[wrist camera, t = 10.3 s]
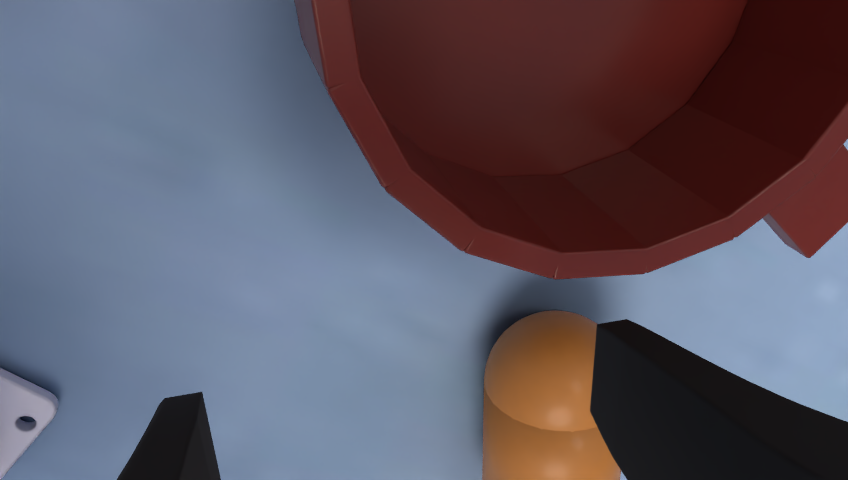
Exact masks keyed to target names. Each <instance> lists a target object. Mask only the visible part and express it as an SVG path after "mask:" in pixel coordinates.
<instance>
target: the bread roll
mask: <svg viewBox="0 0 848 480" xmlns="http://www.w3.org/2000/svg"><path fill="white" fill-rule="evenodd" d="M596 329H597V323H595V322H594V321H592V320H590V319H588V318H586V317H584V316H582V315H579V314H576V313H572V312H568V311H559V310H551V311H542V312H538V313H535V314H532V315H529V316H527V317H524V318H522V319H520V320H518V321H516V322H515V323H514V324H513V325H511V326H510V327H509V328H508V329H507V330H505V331H504V332H503V333H502V335H501V336H500V337H499V339H498V340H497V342H496V343H495V344H494V346H493V347H492V350H491V352H490V355H489V357H488V360H487V363H486V367H485V374H484V410H483V469H482V480H620V474H621V469H620V468H619V466H618V465H617V463H616V462H615V460H614V459H613V457H612V455H611V453H610V451H609V449H608V447H607V445H606V443H605V442H604V440H603V438H602V436H601V434H600V431H599V429H598V427H597V425H596V423H595V421H594V419H593V417H592V414H591V412H590V403H591V391H592V379H593V366H594V354H595V342H596Z"/></svg>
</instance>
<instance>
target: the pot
mask: <svg viewBox="0 0 848 480" xmlns="http://www.w3.org/2000/svg"><path fill="white" fill-rule="evenodd" d="M294 2H295V6H296V10H297V15H298V21H299V26H300V32H301V37H302V40H303V42H304V45H305V47H306V49H307V51H308V53H309V55H310V58H311V60H312V62H313V64H314V66H315V68H316V70H317V72H318V74H319V76H320V78H321V80H322V82H323V84H324V86H325V88H326V90H327V92H328V94H329V96H330V97H331V99H332V101H333V103H334V104H335V106H336V108H337V110H338V111H339V113H340V115H341V117H342V118H343V120H344V122H345V123H346V125H347V127H348V129H349V130H350V132H351V134H352V136H353V137H354V139H355V141H356V143H357V144H358V146H359V148H360V150H361V151H362V153H363V155H364V156H365V158H366V160H367V162H368V163H369V165H370V167H371V169H372V170H373V172H374V174H375V176H376V177H377V179H378V181H379V183H380V184H381V186H382V187H384V188H385V190H386V192H387V193H389V194H390V195H391V196H393V197H394V198H395V199H396V200H398V201H399V202H400V203H401V204H403V205H404V206H405V207H406V208H408V209H409V210H410V211H411V212H413V213H414V214H415V215H416V216H418V217H419V218H420V219H421V220H423V221H424V222H425V223H426V224H428V225H429V226H430V227H431V228H433V229H434V230H435V231H437V232H438V233H439V234H440V235H442V236H443V237H444V238H445V239H447V240H448V241H449V242H450V243H452V244H453V245H454V246H455V247H457V248H458V249H459V250H461V251H464V252H465V253H468V254H471V255H474V256H478V257H481V258H484V259H488V260H491V261H494V262H498V263H501V264H504V265H508V266H511V267H514V268H517V269H521V270H524V271H527V272H531V273H534V274H537V275H541V276H544V277H547V278H553V279H571V278H587V277H603V276H619V275H635V274H645V272H646V273H648V272H651V271H654V270H656V269H659V268H661V267H664V266H666V265H669V264H671V263H674V262H676V261H679V260H682V259H684V258H687V257H689V256H692V255H694V254H697V253H699V252H702V251H705V250H707V249H710V248H712V247H715V246H717V245H720V244H722V243H725V242H728V241H730V240H733V239H734V237H738V236H739V235H741V234H742V233H743V232H745V231H746V230H747V229H748V228H750V227H751V226H752V225H754V224H755V223H756V222H758V221H759V220H760V219H762V218H763V219H764V220H765V222H766V223H767V224H768V225H769V226H770V227H771V228H772V230H773V231H774V232H775V233H776V234H777V235H778V236H779V238H780V239H781V240H782V241H783V242H784V243H785V244H786V245H788V246H789V247H791V248H793V249H794V250H796V251H797V252H799V253H800V254H802V255H803V256H805V257H807V258H810V257H811V256H813V255H814V254H815V253H816V252H817V251H818V250H819V249H820V248H821V247H822V246H823V245H824V244H825V243H826V242H827V241H828V240H829V239H831V238H832V237H833V236H834V235H835V234H836V233H837V232H838V231H839V230H840V229H841V228H842V227H843V226H844V225H845V224H846V223H847V222H848V150H847V149H846V148H845V146H844V145H843V144H844V143H845V141H846V140H847V139H848V0H294Z"/></svg>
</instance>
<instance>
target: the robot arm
mask: <svg viewBox="0 0 848 480" xmlns="http://www.w3.org/2000/svg"><path fill="white" fill-rule="evenodd" d="M57 409H58V400H57V398H56V396H55V395H54V394H52V393H51V392H49V391H47V390H45V389H43V388H41V387H39V386H37V385H35V384H33V383H31V382H29V381H27V380H25V379H22V378H20V377H18V376H16V375H14V374H12V373H10V372H8V371H6V370H4V369H2V368H0V480H1V479H2V477H3V476H4V475H5V474H6V473H7V472H8V470H9V469H10V468H11V467H12V466H13V465H14V463H15V462H16V461H17V460H18V459H19V458H20V456H21V455H22V454H23V453H24V452H25V451H26V449H27V448H28V447H29V446H30V445H31V444H32V443H33V441H34V440H35V439H36V438H37V437H38V436H39V434H40V433H41V432H42V431H43V430H44V429H45V427H46V426H47V425H48V424H49V423H50V422H51V420H52V419H53V418H54V416H55V414H56V412H57ZM590 412H591V414H592V417H593V419H594V421H595V423H596V425H597V427H598V429H599V431H600V434H601V436H602V438H603V440H604V442H605V443H606V445H607V447H608V449H609V451H610V453H611V455H612V457H613V459H614V460H615V462H616V463H617V465H618V466H619V468H620V469H621V471H622V472H623V474H624V475H625V477H626V478H627V480H848V422H846V421H843V420H840V419H838V418H835V417H832V416H830V415H827V414H824V413H822V412H819V411H817V410H814V409H811V408H809V407H806V406H803V405H801V404H798V403H796V402H794V401H791V400H789V399H786V398H784V397H782V396H780V395H777V394H775V393H773V392H771V391H769V390H767V389H764V388H762V387H760V386H758V385H756V384H753V383H751V382H749V381H747V380H745V379H743V378H741V377H739V376H737V375H735V374H733V373H731V372H729V371H727V370H725V369H723V368H721V367H719V366H717V365H715V364H713V363H711V362H709V361H707V360H705V359H703V358H701V357H699V356H698V355H696V354H694V353H692V352H690V351H688V350H686V349H684V348H682V347H681V346H679V345H677V344H675V343H673V342H671V341H669V340H667V339H666V338H664V337H662V336H660V335H658V334H656V333H654V332H652V331H650V330H648V329H646V328H644V327H642V326H640V325H638V324H636V323H634V322H632V321H630V320H627V319H626V320H620V321H614V322H608V323H602V324H597V329H596V342H595V354H594V366H593V379H592V391H591V403H590ZM22 416H29V417H32V418H33V419H34V420H35V421H34V422H25V421H23V420H22V419H20V417H22ZM117 480H221V478H220V474H219V469H218V464H217V460H216V455H215V450H214V446H213V441H212V436H211V432H210V427H209V422H208V418H207V413H206V408H205V403H204V399H203V394H202V392H198V393H192V394H187V395H181V396H175V397H169V398H165V399H164V400H163V401H162V402H161V403H160V404H159V406H158V408H157V410H156V412H155V414H154V416H153V418H152V420H151V422H150V423H149V425H148V427H147V429H146V431H145V433H144V435H143V436H142V438H141V440H140V442H139V444H138V445H137V447H136V449H135V451H134V452H133V454H132V456H131V457H130V459H129V461H128V462H127V464H126V466H125V467H124V469H123V470H122V472H121V474H120V475H119V477H118V478H117Z"/></svg>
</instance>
